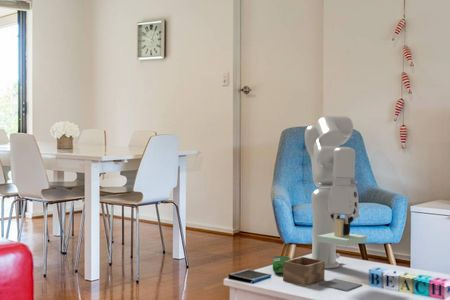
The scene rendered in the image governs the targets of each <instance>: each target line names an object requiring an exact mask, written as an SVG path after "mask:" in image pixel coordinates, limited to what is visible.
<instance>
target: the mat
mask: <svg viewBox="0 0 450 300" xmlns="http://www.w3.org/2000/svg"><path fill="white" fill-rule="evenodd" d="M318 286H320V287H324V288H325V287H326V288H329V289H335V290H339V291H342V292H348V291H351V290H354V289H357V288H359V287H362V286H363V284H362V283H358V282H354V281H348V280H344V279H339V278H333V279H330V280H327V281H324V282H321V283H319V284H318Z"/></svg>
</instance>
